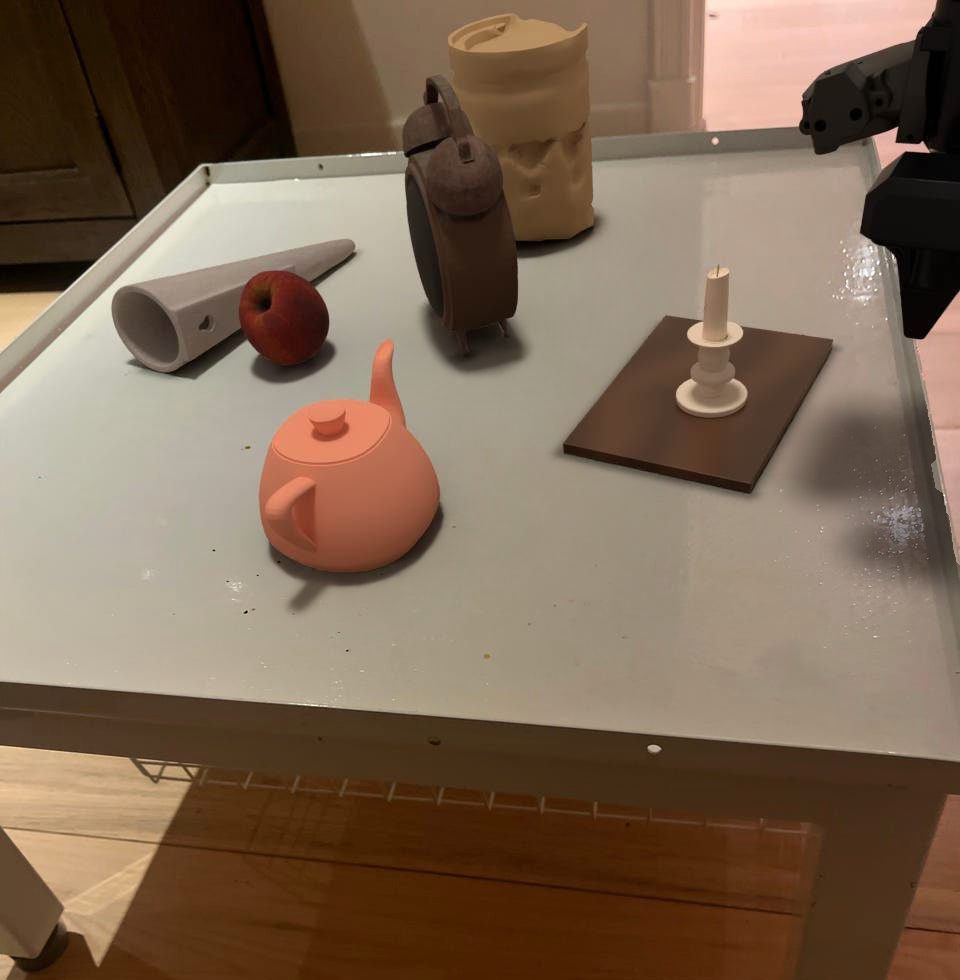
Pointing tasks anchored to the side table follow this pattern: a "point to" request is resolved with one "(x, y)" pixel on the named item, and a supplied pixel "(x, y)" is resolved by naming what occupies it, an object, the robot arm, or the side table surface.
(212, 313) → the planter
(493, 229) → the alarm clock
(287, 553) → the teapot
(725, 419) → the walnut board
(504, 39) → the container
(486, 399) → the side table surface
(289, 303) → the apple
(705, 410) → the candle
